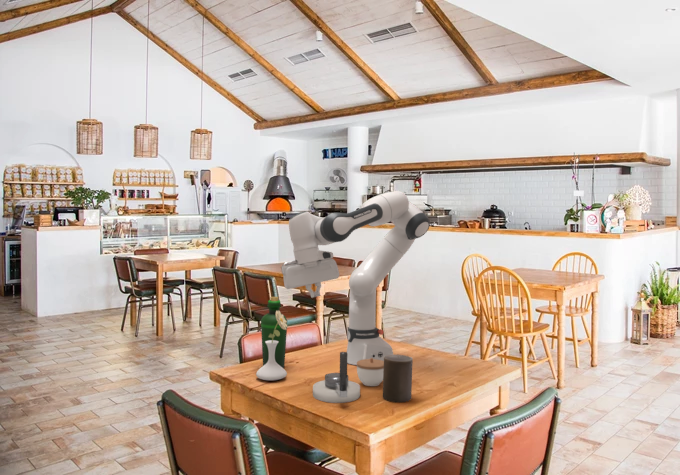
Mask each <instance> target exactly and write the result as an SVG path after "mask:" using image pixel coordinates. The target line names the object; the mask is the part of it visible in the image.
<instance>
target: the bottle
mask: <svg viewBox="0 0 680 475" xmlns="http://www.w3.org/2000/svg"><path fill="white" fill-rule="evenodd" d="M281 304H282V303H281V300H280V299H279V296H270V299H269V300H268V301H267V307H268V313H266V314H264V315H263V316H262V317H261V319H260V330H261V349H262V350H261V351H262V352H261V353H262V367H263V366H264V365H265V364H266V363H267V362H268V359H269V351H268V347H267V344H266V343H265V341H269V340H272V338H270V337H268V336H269V335H270V333H271V334H272V335H273V333H274V329H275V327H276V324H277V322H278V321H277V319H276V315H275V314H276V311H280V309H281V307H282V305H281ZM282 314H283V313H281V315H282ZM284 318H285V320H286V321H287V323H286V324H287V325H288V319H287V317H286V316H285V315H284ZM286 329H287V330H286ZM286 329H285V330H284V329H283V328H281V327H280V325H279V324H278V325H277V327H276V329H275V330H278V331H279V332H280V336H278V337H277V336H276V335H275V333H274V335H275V337H273V340H276V341H279V342H278V344H277V345H276V349H275V361H276V363H277V364H278V365H280V366H281V367H282V368H283V369H284V368H285V362H286V349H287V348H286V346H287V331H288V327H286Z"/></svg>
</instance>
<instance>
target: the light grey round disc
mask: <svg viewBox="0 0 680 475" xmlns="http://www.w3.org/2000/svg"><path fill="white" fill-rule="evenodd" d="M312 397H313V398H314V399H316V400H317V401H321V402H325V403H332V404H341V403H343V404H345V403H350V402H353V401H357V400H358V399H360V397H361V385H360V384H359V383H357V382H355V381H351V380H348V386H347V397H339V395H338V393H337V391H336V389H335V388H329V387H326V386H325V379H324V380H320V381H317V382H315V383H313V385H312Z"/></svg>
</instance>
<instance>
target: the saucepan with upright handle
mask: <svg viewBox="0 0 680 475" xmlns="http://www.w3.org/2000/svg"><path fill="white" fill-rule="evenodd" d="M324 380H325V386H326V387H329V388H335V389H336V391H337V393H338V395H339V397H347V386H348V381H349V375H348V363H347V351H340V352H339V372H330V373H327V374H325V375H324Z"/></svg>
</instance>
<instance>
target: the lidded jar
mask: <svg viewBox="0 0 680 475" xmlns="http://www.w3.org/2000/svg"><path fill="white" fill-rule="evenodd" d="M383 371H384V361H382V360H377V359H373V358H370V359H364V360H359V361H358V362H357V365H356V372H357V374H356V375H357V376H358V379H359V381H360V382H361V383H362V384H363V385H364V386H366V387H377V386H380V384H381V383H383Z"/></svg>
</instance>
